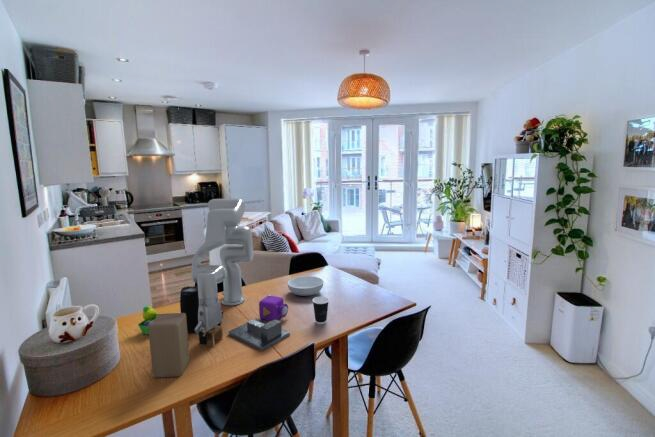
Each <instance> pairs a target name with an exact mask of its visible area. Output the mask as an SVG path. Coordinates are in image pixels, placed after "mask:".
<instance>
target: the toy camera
mask: <svg viewBox="0 0 655 437" xmlns="http://www.w3.org/2000/svg"><path fill="white" fill-rule="evenodd" d="M258 309H259V310H258V313H259V314H258V315H259V319H260V320H264V321H269V322H270V321H272V320H274V319H275V320H279V319H280V318H281V317H282V318H285V317H286V316H287V314H288V311H289V305H288V303H284V298H283V297H281V296H277V295H272V294H268V295H267V296H265V297H264V298H262V299H261V300H260V301H259V302H258Z"/></svg>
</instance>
